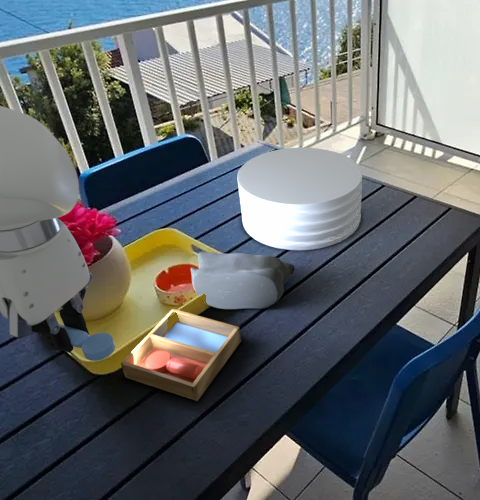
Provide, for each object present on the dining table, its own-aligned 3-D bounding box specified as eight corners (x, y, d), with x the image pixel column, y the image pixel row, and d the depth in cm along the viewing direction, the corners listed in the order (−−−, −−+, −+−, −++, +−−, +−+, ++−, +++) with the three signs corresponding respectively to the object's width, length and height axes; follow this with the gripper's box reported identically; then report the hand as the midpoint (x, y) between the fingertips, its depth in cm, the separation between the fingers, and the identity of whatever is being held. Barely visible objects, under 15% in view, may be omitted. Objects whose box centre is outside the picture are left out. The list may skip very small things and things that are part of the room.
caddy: (197, 401, 75) (194, 387, 74) (125, 377, 79) (120, 363, 77) (241, 340, 86) (239, 326, 84) (176, 322, 89) (172, 308, 87)
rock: (296, 273, 101) (294, 241, 97) (289, 311, 92) (287, 278, 87) (206, 271, 101) (200, 239, 97) (190, 308, 92) (183, 275, 88)
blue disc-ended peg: (121, 343, 67) (117, 332, 66) (101, 364, 64) (97, 352, 63) (60, 326, 70) (55, 314, 69) (39, 344, 67) (33, 333, 66)
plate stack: (378, 237, 112) (381, 193, 106) (254, 260, 104) (249, 213, 98) (339, 182, 134) (339, 141, 127) (234, 197, 126) (228, 155, 119)
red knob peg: (142, 370, 79) (139, 361, 78) (157, 354, 82) (154, 344, 81) (198, 388, 76) (195, 379, 75) (211, 370, 79) (209, 361, 78)
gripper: (50, 189, 64) (90, 298, 75) (-71, 259, 52) (-2, 378, 62) (98, 200, 62) (132, 310, 73) (-16, 274, 50) (46, 394, 60)
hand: (70, 340), depth 67 cm, fingers closed on blue disc-ended peg, 2 cm apart
